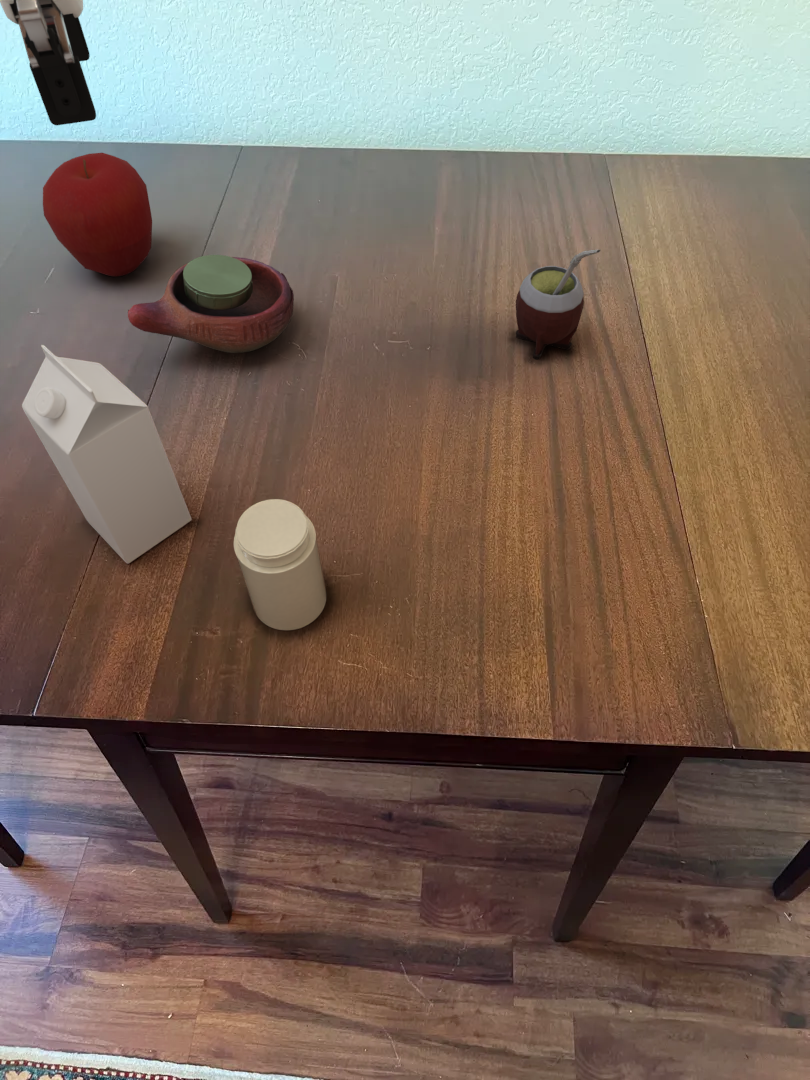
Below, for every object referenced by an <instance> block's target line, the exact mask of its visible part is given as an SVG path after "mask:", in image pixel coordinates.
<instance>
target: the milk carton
mask: <svg viewBox="0 0 810 1080" xmlns="http://www.w3.org/2000/svg"><path fill="white" fill-rule="evenodd" d="M40 347H41V349H42V351H43V353H44V355H45V357H44V358H43V361H42V363H41V365H40V367H39V369H38V371H37V372H36V375H35V377H34V379H33V381H32V383H31V385H30V387H29V390H28V392H27V394H26V395H25V398H24V399H23V401H22V404H21V407H22V410H23V412H24V414H25V415H26V418H27V419H28V421H29V423H30V424H31V426H32V429H34V432H35V433H36V435H37V436H38V438H39V440H40V442H41V443H42V445H43V447H44V448H45V451H46V452H47V454H48V456H49V458H50V460H51V461H52V463H53V465H54V467H56V470H57V472H58V473H59V475H60V477H61V478H62V480H63V482H64V483H65V485H66V487H67V489H68V491H69V493H70V494H71V495H72V498H73V500H74V501H75V503H76V505H77V506H78V508H79V509H80V511H81V513H82V515H83V517H84V518H85V520H86V522H87V523H88V524H89V525H90V526H91V527H92V528H93V529H94V530H95V532H96V533H97V534H98V535H99V536H100V537H101V539H103V540H104V541H105V542H106V544H107V545H108V546H110V548H111V549H112V550H113V551H114V552H115V553H116V554H117V555H118V556H119V557H120V558H121V560H123V562H124V563H126V564H127V565H128V564H130V563H132V562H133V561H135V560H136V559H137V558H139V557H140V556H142V555H143V554H146V552H148V551H150V550H151V549H152V548H154V547H155V546H156V545H158V544H160V543H161V542H162V541H164V540H166V539H167V538H168V537H170V536H171V535H172V534H174V533H176V532H177V531H178V530H180V529H181V528H183V527H184V526H186V525H187V524H188V523H190V522H191V521H193V519H192V516H191V514H190V512H189V509H188V506H187V503H186V501H185V498H184V496H183V493H182V491H181V488H180V485H179V483H178V480H177V478H176V475H175V473H174V471H173V468H172V465H171V462H170V459H169V456H168V454H167V453H166V450H165V447H164V445H163V442H162V439H161V436H160V434H159V431H158V429H157V427H156V424H155V421H154V419H153V416H152V414H151V411H150V409H149V406H148V404H146V403H145V402H144V401H143V400H142V399H141V398H140V397H138V396H137V395H136V394H135V393H134V392H133V391H131V389H130V388H128V387H127V386H126V385H125V384H124V383H123V382H121V381H120V379H119V378H117V377H116V376H115V375H114V374H113V373H111V372H110V371H109V369H107V368H106V367H105V366H104V365H103V364H102V363H100V362H96V361H91V360H90V361H89V360H82V359H77V358H76V359H75V358H69V357H62V356H57V355H55V354H54V353H53V352H52V351H51V350H50V349H49V348H47V347H46V346H45V345H44V344H41V345H40Z"/></svg>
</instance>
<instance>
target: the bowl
mask: <svg viewBox="0 0 810 1080" xmlns="http://www.w3.org/2000/svg"><path fill="white" fill-rule="evenodd" d="M232 257H233V258H235V259H238V260H240V261H241V262H243V263H244V264H246V265H247V266H248V268H249V269H250V271H251V274H252V283H253V293H252V294H251V296H250V298H249V300H248V301H247V302H246V303H244V304H243V305H241V306H239V307H236V308H232V309H226V310H214V309H208V308H204V307H201V306H199V305H197V304H195V303H194V302H192V301H191V300H190V299H189V298H188V297H187V296H186V293H185V289H184V280H183V270H184V268H185V266H186V265H187V264H188V263H189V262H188V263H185V264H183V265H182V266H181V267H179V268H177V269H176V270H174V271H175V272H173V274H172V275H171V276H170V278H169V279H168V282H167V284H166V287H165V291H164V294H163V295H162V297H161V298H160V299H158V300H156V301H152V302H151V301H150V302H142V303H137V304H136V303H135V304H133V305H132V306H131V307H130V308H129V309H127V318H128V321H129V323H131V325H132V326H133V327H135V328H137V329H138V330H140V331H142V332H145V333H152V334H157V335H163V336H169V337H172V338H177V339H182V340H186V341H190V342H193V343H196V344H199V345H201V346H204V347H207V348H209V349H212V350H215V351H218V352H219V351H220V352H223V353H232V354H237V353H238V354H241V353H248V352H253V351H256V350H259V349H261V348H263V347H265V346H267V345H269V344H270V343H272V342H273V341H275V340H276V339H277V338H278V337H279V336H280V335H281V334H282V333H283V332H284V331H285V330H286V328H287V327H288V325H290V321H291V319H292V316H293V313H294V305H295V304H294V303H295V301H294V300H295V296H294V289H293V288H292V287H291V285H290V283H289V281H288V279H287V277H286V276H285V274H284V273H283V272H280V271H279V270H277V269H276V268H274V267H273V266H272V265H269V264H266V263H264V262H262V261H258V260H257V259H251V258H246V257H238V256H232Z"/></svg>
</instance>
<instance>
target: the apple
mask: <svg viewBox="0 0 810 1080" xmlns="http://www.w3.org/2000/svg"><path fill="white" fill-rule="evenodd" d="M149 198H150V197H149V193H148V188H147V184H146V182H145V181H144V179H143V178H142V177H141V176H140V174H139V172H138V171H137V170H136V168H135V167H133V166H132V164H130V162H128V161H127V160H125V159H123V158H120V157H117V156H115V155H112V154H108V153H106V152H93V153H92V152H91V153H87V154H83V155H79V156H75V157H73V158H71V159H68V160H66V161H63V162H62V163H61V164H60V165H59V166H58V167H57V168H55V169H54V170H53V172H52V173H51V175H50V176H49V177H48V178H47V181H46V182H45V183H44V185H43V187H42V210H43V216H44V218H45V220H46V221H47V224H48V225H49V227H50V229H51V231H52V232H53V234H54V236H55V238H56V239H57V241H58V242H59V243H60V244H61V245H62V246H63V247H64V248H65V250H67V251H68V252H69V253H70V255H71V256H72V257H73V258H74V259H75V260H76V261H77V262H78V263H79V265H81V266H82V267H83V268H84V269H86V270H89V271H93V272H97V273H100V274H102V275H106V276H109V277H121V276H127V275H129V274H131V273H133V272H134V271H136V270H137V268H139V267H140V265H141V264H142V263H143V262H144V261H145V260H146V259H147V257H148V256H149V254H150V251H151V249H152V239H153V217H152V216H153V215H152V211H151V204H150V199H149Z"/></svg>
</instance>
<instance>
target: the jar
mask: <svg viewBox="0 0 810 1080" xmlns="http://www.w3.org/2000/svg"><path fill="white" fill-rule="evenodd" d="M316 532H317V531H316V528H315V526H314V524H313V522H312V521H311V519H310V518H309V517H308V516H307V515H306V514H305V512H304V511H303V509H302V508H301V507H299V506H298V505H297V504H295V503H293V502H291V501H289V500H287V499H281V498H280V499H279V498H270V499H264V500H262V501H259V502H257V503H254V504H253V505H251V506H249V507H248V508H246V510H245V511H243V513H242V514H241V516H239V518H238V521H237V525H236V527H235V532H234V533H235V534H234V537H233V550H234V554H235V557H236V560H237V562H238V565H239V569H240V571H241V574H242V578H243V580H244V583H245V586H246V590H247V593H248V596H249V599H250V602H251V605H252V608H253V611H254V613H255V615H256V616H257V618H258V619H259V620H260V621H261V623H263V624H264V625H266V626H268V627H269V628H271V629H274V630H279V631H295V630H298V629H299V630H300V629H302V628H304V627H307V626H308V625H310V624H312V623H313V622H314V621H315V620H316V619H317V618H318V617H319V616H320V615H321V613H322V612H323V610H324V608H325V606H326V602H327V590H326V589H327V588H326V583H325V578H324V573H323V566H322V561H321V556H320V554H321V553H320V549H319V544H318V538H317V533H316Z"/></svg>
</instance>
